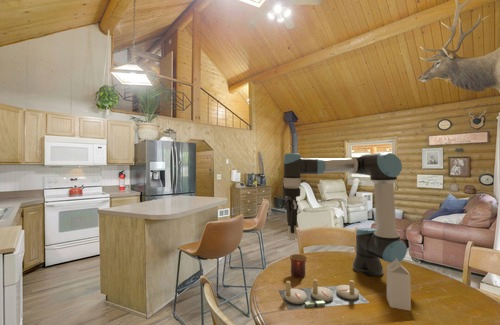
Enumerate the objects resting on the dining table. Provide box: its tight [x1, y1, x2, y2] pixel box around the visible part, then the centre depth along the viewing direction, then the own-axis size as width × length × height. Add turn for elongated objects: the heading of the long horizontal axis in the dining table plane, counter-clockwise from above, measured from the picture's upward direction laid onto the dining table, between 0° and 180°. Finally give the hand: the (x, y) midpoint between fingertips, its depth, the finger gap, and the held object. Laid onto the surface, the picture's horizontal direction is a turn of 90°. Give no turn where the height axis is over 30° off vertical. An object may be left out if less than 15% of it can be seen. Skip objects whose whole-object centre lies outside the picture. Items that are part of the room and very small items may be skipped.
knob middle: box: [311, 278, 333, 302], centre depth 104 cm, size 9×9×7 cm
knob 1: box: [285, 280, 307, 304], centre depth 102 cm, size 9×9×7 cm
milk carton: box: [386, 258, 412, 312], centre depth 99 cm, size 7×7×19 cm
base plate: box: [278, 284, 370, 311], centre depth 104 cm, size 35×15×2 cm, turn 99°
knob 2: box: [336, 279, 360, 299], centre depth 106 cm, size 9×9×7 cm
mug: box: [289, 253, 307, 279], centre depth 124 cm, size 12×9×10 cm
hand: (291, 239), depth 108 cm, fingers closed
